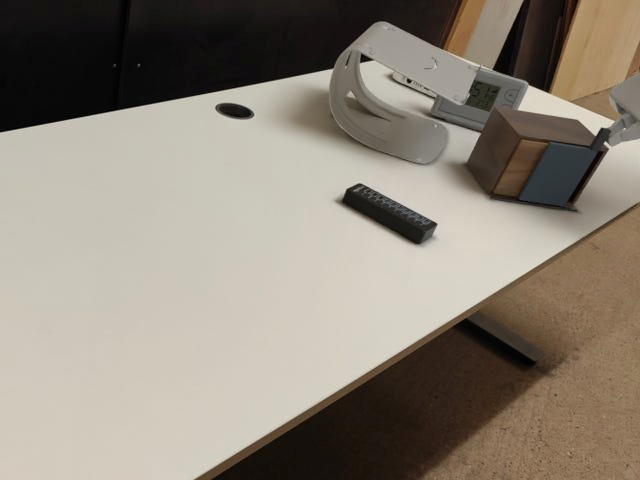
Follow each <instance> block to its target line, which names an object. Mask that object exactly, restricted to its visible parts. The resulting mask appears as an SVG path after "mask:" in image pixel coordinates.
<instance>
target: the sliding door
mask: <svg viewBox="0 0 640 480" xmlns="http://www.w3.org/2000/svg"><path fill="white" fill-rule="evenodd" d="M610 133H611V130H610V129H608V127H602V126H601V127H600V128H599V130H598V131H597V133H596V135H595V136H596V137H595V138H594V140H593V141H592V143H591V145H590V146H589V148H586V147H579V146H573V145H566V144H560V143H554V142H549V143H548V145H547V147H546V149H545V151H544V152H543V154H542V156H541V158H540V159H539V161H538V163H537V165H536V166H535V168H534V170H533V172H532V174H531V175H530V177H529V179H528V181H527V182H526V184H525V186H524V188H523V189H522V191H521V193H520V195H519V197H518V199H517V200H523V201H530V202H537V203H544V204H550V205H557V206H564V207H566V206H565V204H566V202H567V201H568V199H569V198H570V196H571V194H572V193H573V191H574V190H575V188H576V186H577V185H578V183H579V182H580V180H581V178H582V177H583V175H584V174H585V172H586V170H587V169H588V167H589V166H590V164H591V162H592V161H593V159H594V157H595V156H596V154H597V153H598V151H600V149H601V147H602V146H603V144H605V143H606V139H607V138H608V136H609V134H610Z"/></svg>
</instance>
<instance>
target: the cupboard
mask: <svg viewBox="0 0 640 480" xmlns="http://www.w3.org/2000/svg"><path fill="white" fill-rule="evenodd" d="M595 137H596V135H595V134H594V133H593V132H592V131H591V130H589V129H588V127H586V126H585V125H584V124H583V123H582V122H581V121H580V120H579V119H575V118H569V117H563V116H559V115H558V116H557V115H552V114H544V113H538V112H532V111H526V110H519V109H518V110H514V109H508V108H501V107H495V106H494V108H493V110H492V112H491V114H490V116H489V118H488V120H487V122H486V124H485V126H484V128H483V130H482V132H481V131H480V134H479V136H478V139H477V140H476V142H475V145H474V146H473V149H472V150H471V153H470V155H469V157H468V159H467V161H466V165H467V166H468V168H469V169H470V171H471V172H472V174H473V175H474V177H475V178H476V179H477V181H478V182H479V184H480V185H481V187H482V188H483V190H484V191H485V192H486V194H487V195H489V198H490V200H495V201H502V202H507V203H515V204H523V205H528V206H537V207H542V208H550V209H556V210H564V211H570V212H576V213H577V212H578V211H579V210H578V209H577V208H576V207H574V206H575V204H576V203H577V201H578V199H579V198H580V196H581V195H582V193H583V192H584V190H585V188H586V187H587V185H588V184H589V182H590V181H591V179H592V177H593V175H595V172H596V171H597V170H598V168H599V166H600V164H601V163H602V161H603V160H604V159H605V157H606V156H607V154H608V152H609V150H610V148H609V147H608V146H607V145H606V144H605V143H604V144H603V146H602V147H601V149H600V151H598V153H597V154H596V156H595V157H594V159H593V161H592V162H591V164H590V166H589V167H588V169H587V170H586V172H585V174H584V175H583V177H582V178H581V180H580V182H579V183H578V185H577V186H576V188H575V190H574V191H573V193H572V194H571V196H570V198H569V199H568V201H567V202H566V204H565V206H558V205H552V204H545V203H538V202H531V201H525V200H519V199H518V197H519V195H520V193H521V191H522V189H523V188H524V186H525V184H526V182H527V181H528V179H529V177H530V175H531V174H532V172H533V170H534V168H535V166H536V165H537V163H538V161H539V159H540V158H541V156H542V154H543V152H544V151H545V149H546V147H547V145H548V143H549V142H554V143H560V144H566V145H573V146H579V147H586V148H589V146H590V145H591V143H592V141H593V140H594V138H595Z"/></svg>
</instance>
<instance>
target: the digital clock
mask: <svg viewBox="0 0 640 480" xmlns="http://www.w3.org/2000/svg"><path fill="white" fill-rule="evenodd" d="M474 66H475V67H476V68H478V69H479V67H480V66H477V65H474ZM528 88H529V82H527V80H524V79H520V78H517V77H513V76H511V75H508V74H505V73H501V72H498V71H494V70H491V69H487V68H485V67H481V69H480V71H479V72H478V74H476V76H475V78H474V81H473V83H472V85H471V87H470V90H469V92H468V93H469V94H470V95H469V97H468V99H467V101H466V103H465V104H464V105H462V106H458V105H456V104H454V103H452V102H451V101H449V100H447V99H445V98H443V97H441V96H440V95H438V94H437V97H436V98H434V101H433V104H432V106H431V109H430V114H431V115H432V116H434V117H437V118H441V119H444V121H445V122H447V123H452V124H455V125H458V126H462V127H464V128H467V129H471V130H475V131H478V132H480V133H481V132H482V130H483V128H484V126H485V124H486V122H487V120H488V118H489V116H490V114H491V112H492V110H493V108H494V106H495V107H501V108H508V109H514V110H519V108H520V106H521V104H522V102H523V99H524V97H525V95H526V93H527V91H528ZM467 95H468V94H467ZM466 97H467V96H466Z"/></svg>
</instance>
